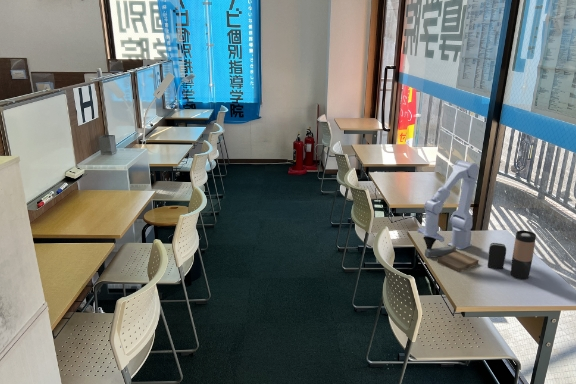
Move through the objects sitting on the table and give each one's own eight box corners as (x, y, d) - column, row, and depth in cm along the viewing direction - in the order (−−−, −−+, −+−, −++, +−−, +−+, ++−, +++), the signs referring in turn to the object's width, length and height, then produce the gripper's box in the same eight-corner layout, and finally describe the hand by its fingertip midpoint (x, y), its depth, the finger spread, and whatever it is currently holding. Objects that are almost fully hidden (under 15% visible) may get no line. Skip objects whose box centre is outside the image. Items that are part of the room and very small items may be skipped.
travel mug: (527, 272, 197) (534, 231, 190) (530, 281, 190) (537, 238, 184) (508, 270, 199) (515, 229, 193) (510, 278, 192) (517, 236, 186)
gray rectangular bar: (448, 252, 217) (449, 246, 216) (452, 254, 214) (452, 248, 214) (424, 255, 214) (425, 249, 213) (427, 257, 212) (428, 252, 211)
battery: (503, 266, 203) (506, 243, 200) (503, 269, 200) (507, 246, 196) (486, 263, 205) (489, 241, 202) (486, 267, 202) (490, 244, 199)
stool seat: (452, 252, 218) (453, 244, 217) (479, 263, 206) (480, 255, 205) (431, 259, 210) (432, 252, 209) (459, 272, 198) (459, 264, 197)
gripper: (414, 221, 215) (412, 247, 219) (438, 231, 203) (435, 257, 208) (423, 218, 219) (421, 243, 223) (448, 227, 207) (445, 254, 211)
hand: (429, 250), depth 215 cm, fingers closed
